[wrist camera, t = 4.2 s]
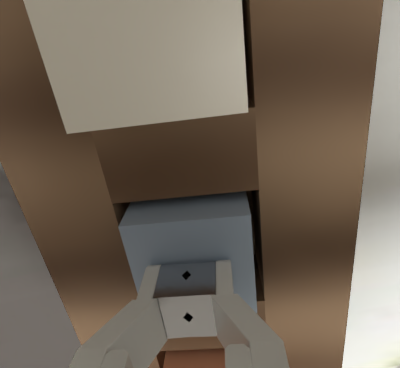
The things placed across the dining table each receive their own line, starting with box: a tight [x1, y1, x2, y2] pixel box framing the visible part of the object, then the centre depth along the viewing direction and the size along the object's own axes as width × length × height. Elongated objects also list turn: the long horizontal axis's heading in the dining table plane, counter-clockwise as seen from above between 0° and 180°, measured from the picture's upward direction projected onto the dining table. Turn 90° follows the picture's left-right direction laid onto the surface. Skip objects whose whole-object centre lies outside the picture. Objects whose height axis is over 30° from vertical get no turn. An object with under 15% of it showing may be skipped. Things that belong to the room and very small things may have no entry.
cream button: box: [23, 0, 248, 134], centre depth 8 cm, size 4×4×4 cm
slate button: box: [118, 191, 257, 313], centre depth 12 cm, size 4×4×4 cm
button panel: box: [0, 0, 383, 368], centre depth 13 cm, size 26×12×4 cm, turn 7°
